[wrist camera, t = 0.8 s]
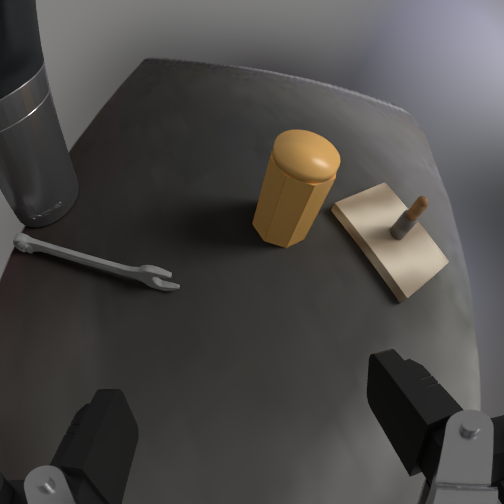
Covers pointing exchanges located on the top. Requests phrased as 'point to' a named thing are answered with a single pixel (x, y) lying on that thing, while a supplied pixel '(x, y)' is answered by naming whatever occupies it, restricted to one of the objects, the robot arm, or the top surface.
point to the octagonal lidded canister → (294, 186)
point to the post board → (391, 238)
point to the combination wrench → (99, 262)
